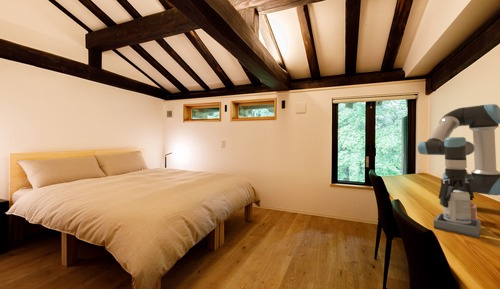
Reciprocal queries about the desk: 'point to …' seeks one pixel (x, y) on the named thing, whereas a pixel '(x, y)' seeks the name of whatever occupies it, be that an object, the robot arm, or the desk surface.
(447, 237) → the desk surface
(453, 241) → the desk surface
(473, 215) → the terracotta bin
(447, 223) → the gray tray
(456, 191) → the supplement tub
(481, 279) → the desk surface
